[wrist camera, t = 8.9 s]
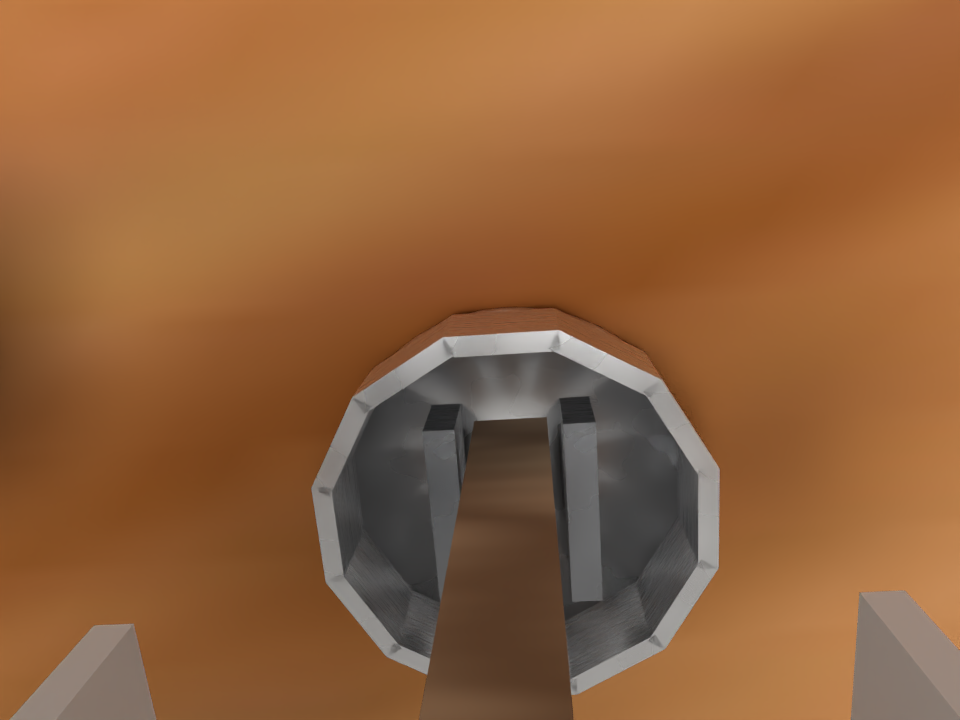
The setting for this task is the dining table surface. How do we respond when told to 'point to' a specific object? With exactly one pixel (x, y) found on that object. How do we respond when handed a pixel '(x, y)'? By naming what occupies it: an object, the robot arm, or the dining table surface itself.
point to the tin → (575, 475)
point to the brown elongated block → (502, 587)
